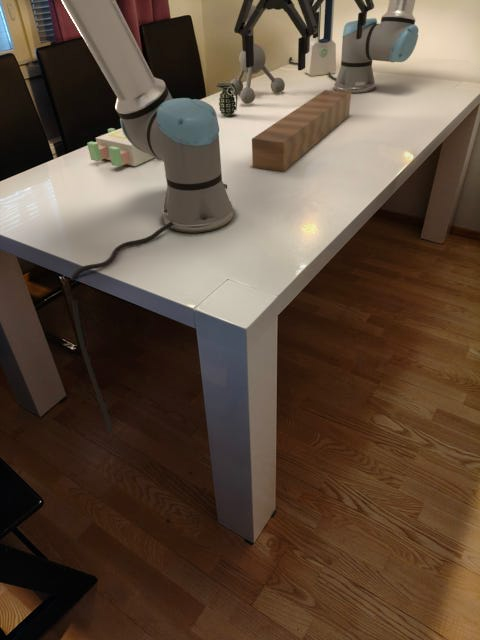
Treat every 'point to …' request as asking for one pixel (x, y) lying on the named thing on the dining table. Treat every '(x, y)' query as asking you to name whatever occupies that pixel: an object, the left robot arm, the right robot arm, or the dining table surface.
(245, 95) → the molecular model
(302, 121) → the wooden square beam
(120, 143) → the decorative block
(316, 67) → the electronic device
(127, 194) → the dining table surface
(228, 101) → the grenade
